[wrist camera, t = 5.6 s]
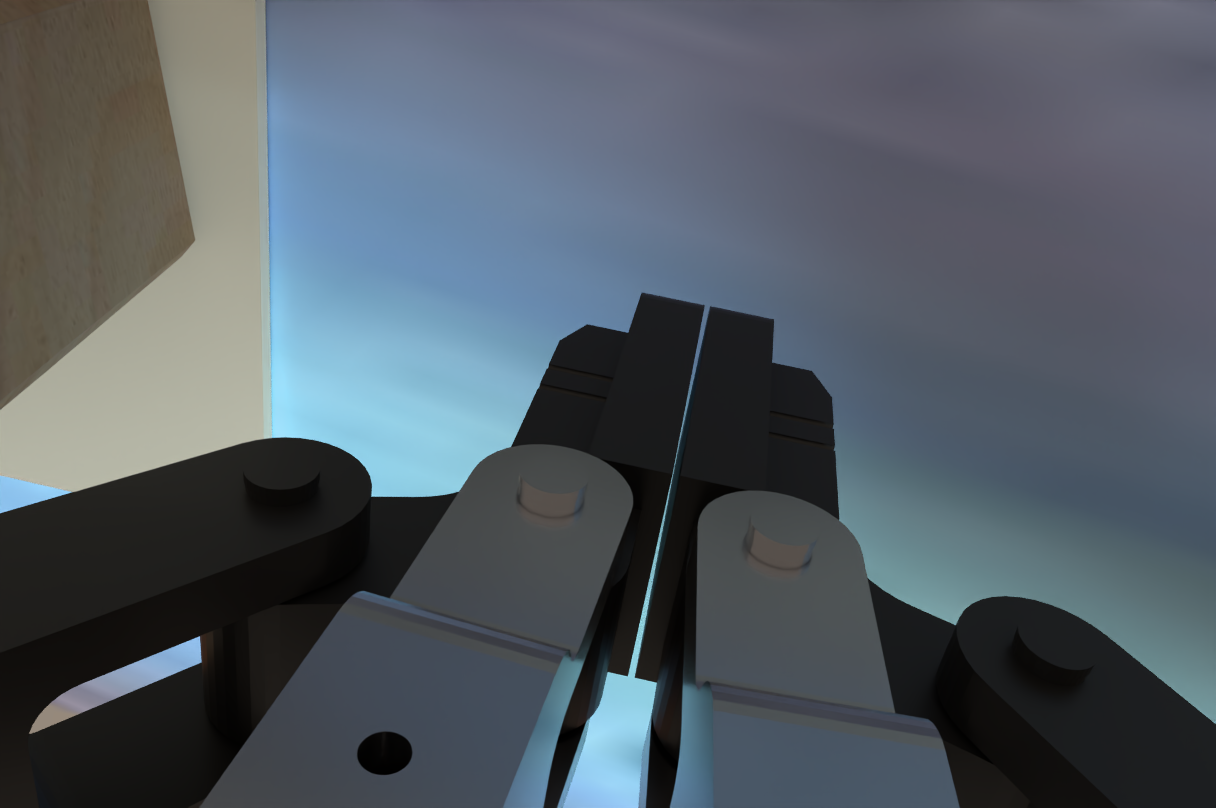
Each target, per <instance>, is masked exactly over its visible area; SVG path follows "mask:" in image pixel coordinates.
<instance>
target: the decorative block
mask: <svg viewBox="0 0 1216 808" xmlns="http://www.w3.org/2000/svg"><path fill="white" fill-rule="evenodd" d="M194 242H195V236H194V231H193V226H192V221H191V216H190V211H189V206H188V201H187V196H186V191H185V186H184V181H183V176H182V171H181V165H180V160H179V155H178V150H177V145H176V140H175V135H174V130H173V125H172V120H171V115H170V110H169V105H168V100H167V95H166V90H165V85H164V80H163V75H162V70H161V65H160V60H159V55H158V50H157V45H156V40H155V34H154V29H153V24H152V19H151V14H150V9H149V4H148V0H0V410H1V409H2V408H3V407H4V406H6V405H7V404H8V403H9V402H11V401H12V400H13V399H14V398H15V397H17V396H18V395H19V394H20V393H21V392H23V391H24V390H25V389H26V388H27V387H29V386H30V385H31V384H32V383H33V382H35V381H36V380H37V379H38V378H39V377H41V376H42V375H43V374H44V373H45V372H47V371H48V370H49V369H50V368H51V367H52V366H54V365H55V364H56V363H57V362H58V361H59V360H61V359H62V358H63V357H64V356H65V355H67V354H68V353H69V352H70V351H71V350H72V349H74V348H75V347H76V346H77V345H78V344H80V343H81V342H82V341H83V340H84V339H85V338H87V337H88V336H89V335H90V334H91V333H92V332H94V331H95V330H96V329H97V328H98V327H100V326H101V325H102V324H103V323H104V322H105V321H107V320H108V319H109V318H110V317H111V316H112V315H114V314H115V313H116V312H117V311H118V310H120V309H121V308H122V307H123V306H124V305H125V304H127V303H128V302H129V301H130V300H131V299H133V298H134V297H135V296H136V295H137V294H138V293H140V292H141V291H142V290H143V289H144V288H145V287H147V286H148V285H149V284H150V283H151V282H153V281H154V280H155V279H156V278H157V277H158V276H160V275H161V274H162V273H163V272H164V271H165V270H167V269H168V268H169V267H170V266H171V265H173V264H174V263H175V262H176V261H177V260H178V259H180V258H181V257H182V256H183V254H184V253H185V252H186V251H187V250H188V249H189V247H190V246H191V245H192V244H193V243H194Z"/></svg>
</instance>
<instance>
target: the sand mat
mask: <svg viewBox="0 0 1216 808" xmlns="http://www.w3.org/2000/svg"><path fill="white" fill-rule="evenodd" d="M148 4H149V9H150V14H151V19H152V24H153V29H154V34H155V40H156V45H157V50H158V55H159V60H160V65H161V70H162V75H163V80H164V85H165V90H166V95H167V100H168V105H169V110H170V115H171V120H172V125H173V130H174V135H175V140H176V145H177V150H178V155H179V160H180V165H181V171H182V176H183V181H184V186H185V191H186V196H187V201H188V206H189V211H190V216H191V221H192V226H193V231H194V236H195V242H194V243H193V244H192V245H191V246H190V247H189V249H188V250H187V251H186V252H185V253H184V254H183V256H182V257H181V258H180V259H178V260H177V261H176V262H175V263H174V264H173V265H171V266H170V267H169V268H168V269H167V270H165V271H164V272H163V273H162V274H161V275H160V276H158V277H157V278H156V279H155V280H154V281H153V282H151V283H150V284H149V285H148V286H147V287H145V288H144V289H143V290H142V291H141V292H140V293H138V294H137V295H136V296H135V297H134V298H133V299H131V300H130V301H129V302H128V303H127V304H125V305H124V306H123V307H122V308H121V309H120V310H118V311H117V312H116V313H115V314H114V315H112V316H111V317H110V318H109V319H108V320H107V321H105V322H104V323H103V324H102V325H101V326H100V327H98V328H97V329H96V330H95V331H94V332H92V333H91V334H90V335H89V336H88V337H87V338H85V339H84V340H83V341H82V342H81V343H80V344H78V345H77V346H76V347H75V348H74V349H72V350H71V351H70V352H69V353H68V354H67V355H65V356H64V357H63V358H62V359H61V360H59V361H58V362H57V363H56V364H55V365H54V366H52V367H51V368H50V369H49V370H48V371H47V372H45V373H44V374H43V375H42V376H41V377H39V378H38V379H37V380H36V381H35V382H33V383H32V384H31V385H30V386H29V387H27V388H26V389H25V390H24V391H23V392H21V393H20V394H19V395H18V396H17V397H15V398H14V399H13V400H12V401H11V402H9V403H8V404H7V405H6V406H4V407H3V408H2V409H1V410H0V475H1V476H5V477H10V478H14V479H18V480H23V481H27V482H31V483H36V484H40V485H45V486H49V487H53V488H58V489H62V490H66V491H71V492H76V491H79V490H83V489H86V488H89V487H93V486H96V485H100V484H103V483H107V482H110V481H114V480H117V479H120V478H124V477H127V476H131V475H134V474H138V473H141V472H145V471H148V470H151V469H155V468H158V467H162V466H165V465H169V464H172V463H176V462H179V461H182V460H186V459H189V458H193V457H196V456H200V455H203V454H207V453H210V452H213V451H217V450H220V449H224V448H227V447H231V446H234V445H238V444H241V443H245V442H249V441H254V440H260V439H267V438H272V407H271V340H270V273H269V206H268V140H267V73H266V6H265V0H148Z"/></svg>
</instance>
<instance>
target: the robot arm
mask: <svg viewBox="0 0 1216 808" xmlns="http://www.w3.org/2000/svg"><path fill="white" fill-rule="evenodd" d="M704 306H705V305H700V304H695V303H691V302H686V301H681V300H676V299H671V298H666V297H661V296H657V295H652V294H647V293H642V294H641V296H640V299H639V302H638V305H637V308H636V311H635V314H634V317H633V320H632V324H631V327H630V330H629V333H626V332H621V331H616V330H612V329H607V328H602V327H597V326H592V325H588V324H587V325H585V326H584V327H582V328H580V329H579V330H577V331H575V332H574V333H572V334H570V335H569V336H567V337H565V338H563V339H562V340H560V341H559V343H558V346H557V348H556V350H555V352H554V354H553V356H552V359H551V361H550V363H549V367H548V369H547V370H546V372H545V374H544V376H543V378H542V381H541V383H540V387H539V388H538V389H537V392H536V394H535V396H534V398H533V400H532V403H531V405H530V407H529V409H528V411H527V413H526V416H525V418H524V420H523V422H522V424H521V427H520V429H519V431H518V433H517V435H516V438H515V440H514V442H513V444H512V446H511V447H510V448H506V449H503V450H500V451H497V452H495V453H493V454H491V455H489V456H488V457H486V458H485V459H484V460H482V461H481V462H480V463H479V464H478V465H477V466H476V467H475V469H474V470H473V471H472V473H471V474H470V476H469V477H468V479H467V480H466V482H465V484H464V485H463V487H462V488H461V490H460V491H459V492H456V493H452V494H447V495H440V496H432V497H371V492H372V483H371V479H370V475H369V474H368V472H367V470H366V468H365V467H364V466H363V465H362V463H361V462H360V461H359V460H358V459H356V458H355V457H354V456H352V455H351V454H349V453H348V452H346V451H344V450H342V449H340V448H338V447H335V446H332V445H330V444H327V443H323V442H319V441H315V440H309V439H302V438H286V437H284V438H267V439H260V440H254V441H249V442H245V443H241V444H238V445H234V446H231V447H227V448H224V449H220V450H217V451H213V452H210V453H207V454H203V455H200V456H196V457H193V458H189V459H186V460H182V461H179V462H176V463H172V464H169V465H165V466H162V467H158V468H155V469H151V470H148V471H145V472H141V473H138V474H134V475H131V476H127V477H124V478H120V479H117V480H114V481H110V482H107V483H103V484H100V485H96V486H93V487H89V488H86V489H83V490H79V491H76V492H72V493H69V494H65V495H62V496H58V497H55V498H52V499H48V500H45V501H41V502H38V503H34V504H31V505H27V506H24V507H21V508H17V509H14V510H10V511H7V512H3V513H0V808H563V806H564V803H565V800H566V797H567V794H568V791H569V788H570V785H571V782H572V779H573V776H574V773H575V770H576V767H577V764H578V761H579V758H580V755H581V752H582V749H583V746H584V743H585V739H586V735H587V730H588V725H589V720H590V717H591V716H592V715H593V714H594V712H595V711H596V709H597V708H598V706H599V704H600V701H601V698H602V694H603V689H604V685H605V681H606V676H607V672H611V673H615V674H620V675H624V676H628V673H629V668H630V664H631V659H632V655H633V650H634V646H635V641H636V637H637V632H638V628H639V623H640V619H641V614H642V609H643V605H644V600H645V596H646V591H647V587H648V582H649V578H650V573H651V569H652V564H653V560H654V555H655V551H656V546H657V542H658V537H659V533H660V528H661V524H662V519H663V515H664V510H665V505H666V501H667V496H668V492H669V487H670V483H671V478H672V474H673V469H674V463H675V458H676V453H677V448H678V442H679V437H680V432H681V427H682V422H683V416H684V411H685V406H686V401H687V395H688V390H689V385H690V380H691V374H692V369H693V364H694V359H695V354H696V348H697V343H698V338H699V333H700V327H701V322H702V317H703V312H704ZM773 332H774V319H769V318H764V317H760V316H755V315H750V314H745V313H740V312H735V311H730V310H726V309H721V308H716V307H711V306H710V310H709V314H708V318H707V322H706V327H705V331H704V336H703V340H702V345H701V349H700V354H699V358H698V363H697V367H696V372H695V376H694V381H693V385H692V390H691V394H690V399H689V404H688V408H687V413H686V417H685V422H684V426H683V431H682V435H681V440H680V445H679V449H678V454H677V459H676V464H675V469H674V474H673V479H672V484H671V489H670V494H669V500H668V505H667V510H666V516H665V521H664V526H663V531H662V537H661V542H660V547H659V552H658V558H657V563H656V568H655V574H654V579H653V584H652V589H651V595H650V600H649V605H648V610H647V616H646V621H645V626H644V632H643V637H642V642H641V647H640V653H639V658H638V663H637V668H636V674H635V678H639V679H643V680H648V681H652V682H657V686H656V692H655V698H654V704H653V709H652V713H651V718H650V722H649V726H648V730H647V734H646V738H645V742H644V747H643V752H642V764H641V778H640V792H639V807H638V808H1216V724H1215V723H1213V722H1212V721H1211V720H1210V719H1208V718H1207V717H1206V716H1205V715H1204V714H1202V713H1201V712H1200V711H1199V710H1197V709H1196V708H1195V707H1194V706H1192V705H1191V704H1190V703H1189V702H1188V701H1186V700H1185V699H1184V698H1183V697H1181V696H1180V695H1179V694H1178V693H1176V692H1175V691H1174V690H1173V689H1172V688H1170V687H1169V686H1168V685H1167V684H1165V683H1164V682H1163V681H1162V680H1160V679H1159V678H1158V677H1157V676H1156V675H1154V674H1153V673H1152V672H1151V671H1149V670H1148V669H1147V668H1146V667H1144V666H1143V665H1142V664H1141V663H1140V662H1138V661H1137V660H1136V659H1135V658H1133V657H1132V656H1131V655H1130V654H1128V653H1127V652H1126V651H1125V650H1124V649H1122V648H1121V647H1120V646H1119V645H1117V644H1116V643H1115V642H1114V641H1112V640H1111V639H1110V638H1109V637H1108V636H1106V635H1105V634H1103V633H1102V632H1101V631H1099V630H1098V629H1097V628H1095V627H1094V626H1092V625H1091V624H1089V623H1087V622H1086V621H1084V620H1082V619H1081V618H1079V617H1077V616H1075V615H1073V614H1071V613H1069V612H1067V611H1065V610H1062V609H1060V608H1057V607H1055V606H1052V605H1049V604H1046V603H1043V602H1039V601H1036V600H1031V599H1026V598H1020V597H1008V596H1003V597H991V598H986V599H982V600H980V601H977V602H975V603H973V604H971V605H970V606H969V607H967V608H966V609H965V610H964V611H963V613H962V614H961V616H960V617H959V620H958V622H957V624H956V625H953V624H951V623H949V622H947V621H944V620H942V619H940V618H938V617H935V616H933V615H931V614H929V613H926V612H924V611H922V610H919V609H917V608H915V607H913V606H911V605H909V604H907V603H905V602H903V601H901V600H899V599H897V598H895V597H893V596H892V595H890V594H889V593H887V592H885V591H884V590H882V589H881V588H880V587H878V586H877V585H876V584H874V583H873V582H872V581H870V580H869V579H868V578H867V574H866V569H865V564H864V559H863V554H862V551H861V548H860V545H859V544H858V542H857V540H856V539H855V537H854V535H853V534H852V533H851V532H850V531H849V530H848V528H847V527H846V526H845V525H843V524H842V523H841V522H840V521H839V507H838V490H837V474H836V457H835V451H834V447H835V440H834V429H833V424H834V423H833V406H832V397H831V396H830V394H829V393H828V392H827V390H826V389H825V388H824V386H823V385H822V384H821V382H820V381H819V380H818V378H817V377H816V376H815V375H814V373H813V372H812V371H809V370H805V369H800V368H795V367H790V366H785V365H781V364H776V363H772V353H773ZM199 636H200V643H201V659H202V663H199V664H197V665H194V666H192V667H190V668H187V669H185V670H183V671H180V672H178V673H175V674H173V675H171V676H168V677H166V678H164V679H161V680H159V681H156V682H154V683H152V684H149V685H147V686H145V687H142V688H140V689H137V690H135V691H133V692H130V693H128V694H126V695H123V696H121V697H118V698H116V699H114V700H111V701H109V702H107V703H104V704H102V705H99V706H97V707H95V708H92V709H90V710H88V711H85V712H83V713H80V714H78V715H76V716H73V717H71V718H69V719H66V720H64V721H61V722H59V723H57V724H54V725H52V726H50V727H47V728H45V729H42V730H40V731H38V732H35V733H32V734H29V732H30V730H31V727H32V725H33V723H34V722H35V720H36V718H37V717H38V715H39V714H40V713H41V712H42V711H43V710H44V708H46V707H47V706H48V705H49V704H50V703H51V702H52V701H53V700H55V699H56V698H57V697H59V696H60V695H61V694H63V693H65V692H66V691H68V690H70V689H71V688H74V687H76V686H78V685H80V684H82V683H85V682H87V681H90V680H92V679H95V678H97V677H100V676H102V675H105V674H107V673H110V672H112V671H115V670H117V669H120V668H122V667H125V666H127V665H129V664H132V663H134V662H137V661H139V660H142V659H144V658H147V657H149V656H152V655H154V654H157V653H159V652H162V651H164V650H167V649H169V648H172V647H174V646H177V645H179V644H181V643H184V642H186V641H189V640H191V639H194V638H196V637H199Z"/></svg>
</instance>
